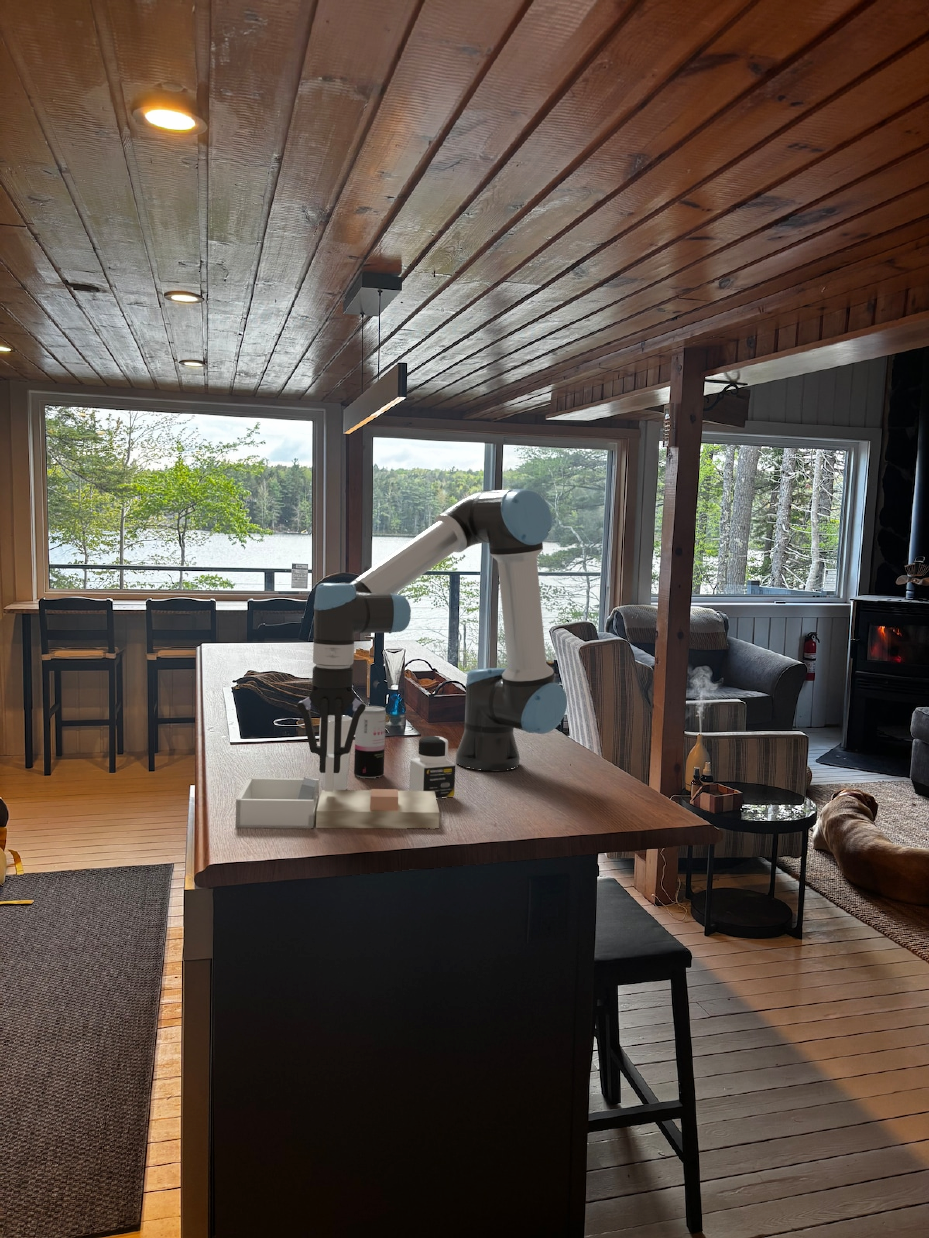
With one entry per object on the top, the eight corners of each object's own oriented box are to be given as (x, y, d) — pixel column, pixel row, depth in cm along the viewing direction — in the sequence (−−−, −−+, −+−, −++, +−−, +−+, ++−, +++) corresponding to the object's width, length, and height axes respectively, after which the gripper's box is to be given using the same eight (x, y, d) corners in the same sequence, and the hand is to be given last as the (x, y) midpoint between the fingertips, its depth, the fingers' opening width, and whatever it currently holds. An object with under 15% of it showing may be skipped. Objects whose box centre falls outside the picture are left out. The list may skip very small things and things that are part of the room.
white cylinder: (356, 787, 183) (358, 716, 182) (341, 795, 177) (343, 722, 176) (327, 783, 186) (329, 713, 184) (311, 791, 179) (313, 719, 178)
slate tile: (316, 780, 168) (304, 777, 167) (315, 787, 163) (301, 784, 162) (310, 805, 168) (297, 802, 168) (308, 812, 163) (295, 809, 163)
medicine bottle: (423, 801, 176) (425, 742, 175) (408, 792, 182) (410, 735, 181) (454, 798, 179) (457, 740, 178) (439, 789, 185) (441, 733, 184)
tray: (318, 804, 171) (319, 778, 170) (312, 828, 156) (313, 800, 155) (247, 803, 169) (248, 777, 169) (235, 827, 154) (236, 799, 154)
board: (433, 806, 172) (434, 791, 172) (438, 828, 158) (439, 812, 158) (321, 804, 170) (321, 789, 170) (315, 827, 156) (316, 811, 156)
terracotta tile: (397, 802, 163) (397, 789, 163) (397, 810, 159) (398, 796, 158) (370, 802, 163) (370, 788, 163) (370, 810, 158) (370, 796, 158)
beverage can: (347, 774, 194) (349, 707, 193) (370, 770, 199) (372, 704, 197) (367, 780, 189) (369, 712, 188) (389, 775, 194) (392, 709, 193)
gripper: (296, 667, 159) (292, 794, 161) (368, 669, 161) (363, 795, 162) (299, 662, 167) (295, 783, 168) (368, 664, 168) (364, 784, 170)
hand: (329, 789), depth 165 cm, fingers closed
